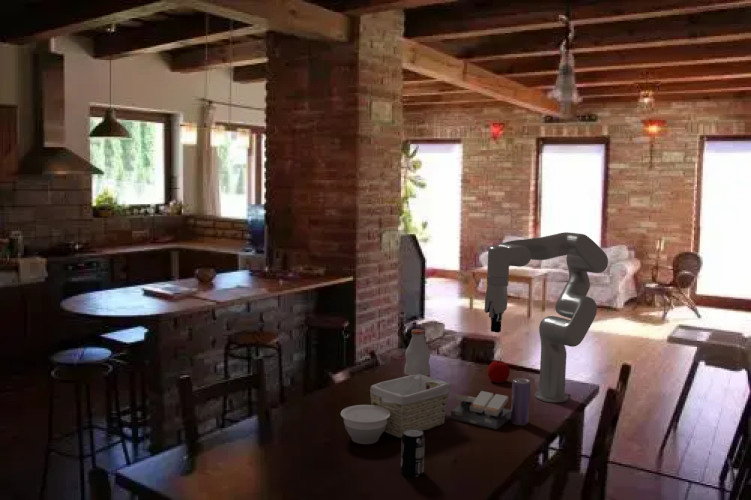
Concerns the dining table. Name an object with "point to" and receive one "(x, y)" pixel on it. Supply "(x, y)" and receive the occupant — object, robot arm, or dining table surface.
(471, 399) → the rocker
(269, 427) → the dining table surface
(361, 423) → the bowl
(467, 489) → the dining table surface
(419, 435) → the beverage can
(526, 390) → the beverage can
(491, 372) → the fruit
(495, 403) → the rocker
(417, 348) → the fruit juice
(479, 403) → the rocker
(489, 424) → the switch unit
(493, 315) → the robot arm
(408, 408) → the storage basket
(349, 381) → the dining table surface
